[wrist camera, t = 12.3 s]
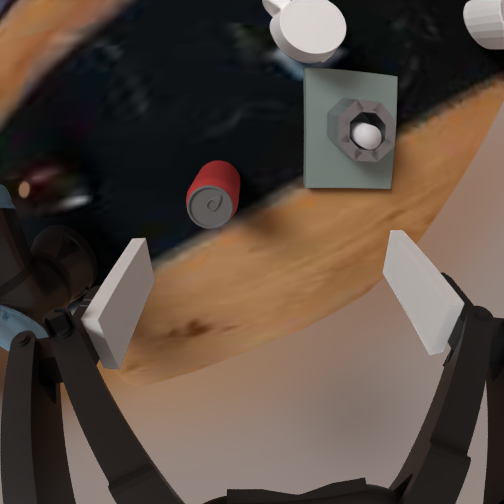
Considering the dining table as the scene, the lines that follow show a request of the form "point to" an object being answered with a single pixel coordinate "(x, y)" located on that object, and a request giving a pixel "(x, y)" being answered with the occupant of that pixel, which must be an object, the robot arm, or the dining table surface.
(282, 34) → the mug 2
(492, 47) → the mug
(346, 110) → the ring
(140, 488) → the robot arm
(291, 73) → the dining table surface
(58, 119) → the dining table surface
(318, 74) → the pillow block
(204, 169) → the beer can
